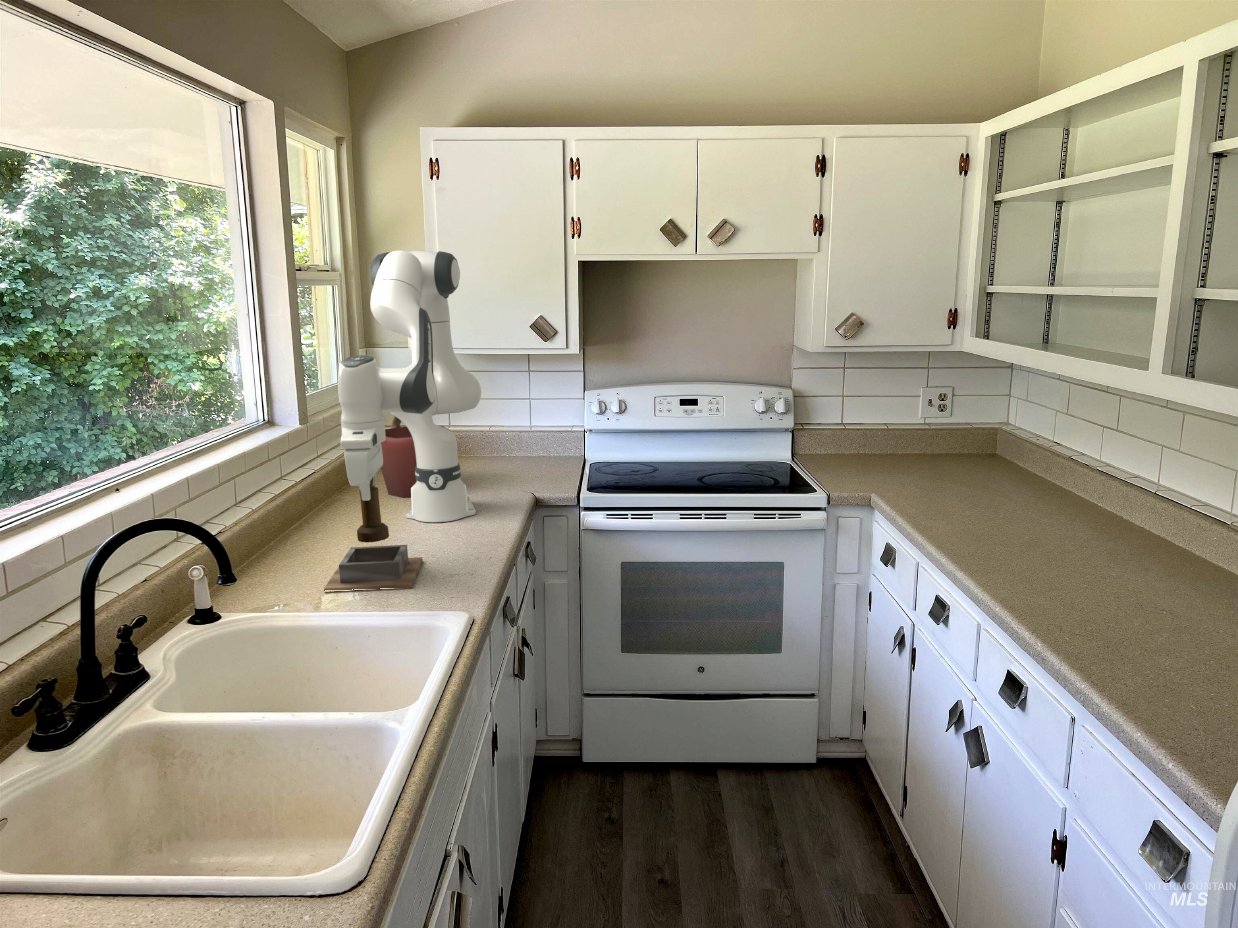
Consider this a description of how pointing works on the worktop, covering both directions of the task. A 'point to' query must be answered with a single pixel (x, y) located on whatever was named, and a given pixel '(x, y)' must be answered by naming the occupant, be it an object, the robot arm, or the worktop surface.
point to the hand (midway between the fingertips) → (369, 496)
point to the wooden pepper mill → (372, 519)
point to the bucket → (399, 460)
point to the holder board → (375, 569)
